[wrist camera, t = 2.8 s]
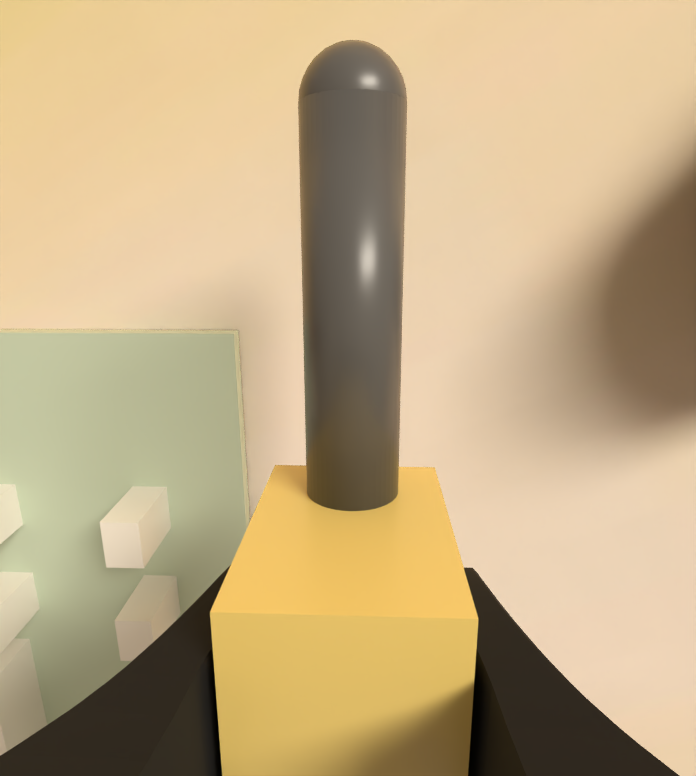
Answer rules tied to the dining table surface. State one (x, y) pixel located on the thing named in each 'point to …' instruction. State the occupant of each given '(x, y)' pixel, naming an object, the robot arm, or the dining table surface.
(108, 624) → the board
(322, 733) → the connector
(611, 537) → the dining table surface
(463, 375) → the dining table surface
